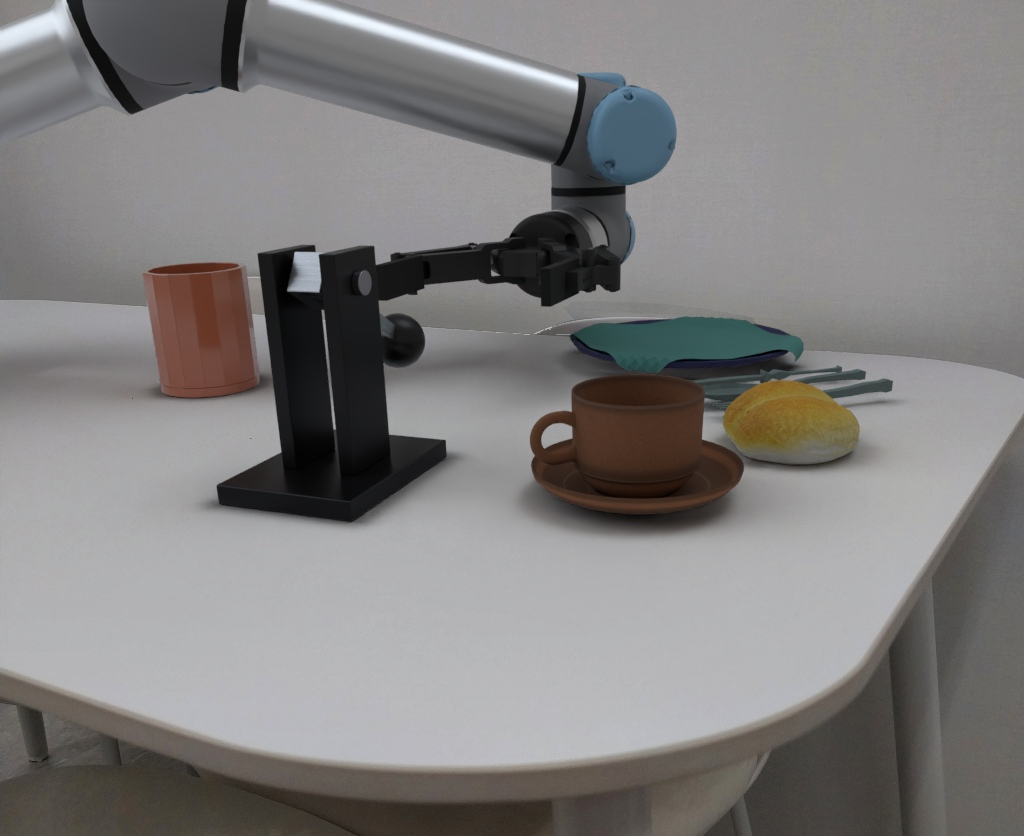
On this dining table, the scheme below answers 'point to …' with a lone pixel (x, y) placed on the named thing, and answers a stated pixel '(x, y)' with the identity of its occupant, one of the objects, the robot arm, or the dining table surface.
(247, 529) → the dining table surface
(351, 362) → the black stand
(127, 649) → the dining table surface
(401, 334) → the lever
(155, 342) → the cup
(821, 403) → the bread roll
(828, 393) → the cutlery set
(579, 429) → the cup and saucer
